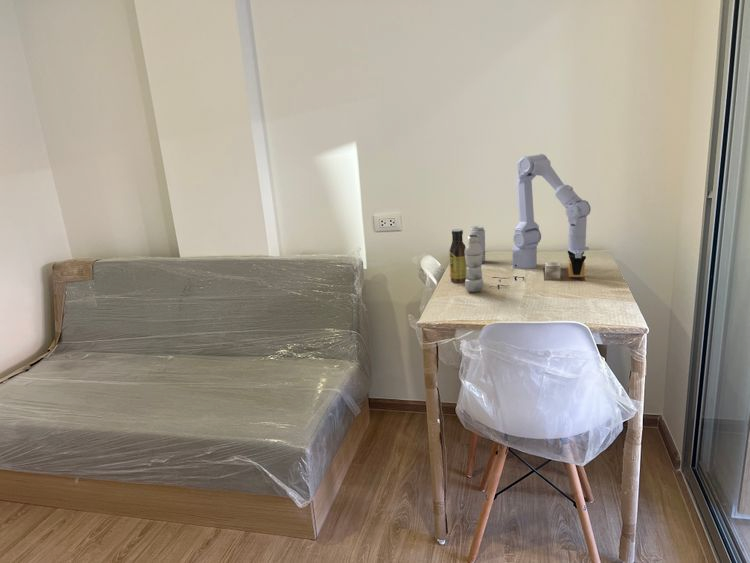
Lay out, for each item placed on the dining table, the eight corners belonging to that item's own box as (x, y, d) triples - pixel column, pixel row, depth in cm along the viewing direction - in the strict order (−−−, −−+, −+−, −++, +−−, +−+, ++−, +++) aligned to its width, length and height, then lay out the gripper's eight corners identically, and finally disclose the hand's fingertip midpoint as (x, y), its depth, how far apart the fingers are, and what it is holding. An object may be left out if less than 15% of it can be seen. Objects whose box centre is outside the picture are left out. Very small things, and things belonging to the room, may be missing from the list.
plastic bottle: (463, 293, 190) (461, 238, 184) (467, 287, 196) (465, 233, 190) (481, 294, 187) (480, 238, 182) (485, 288, 193) (484, 234, 188)
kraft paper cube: (569, 276, 193) (569, 263, 191) (568, 272, 197) (568, 259, 196) (584, 276, 191) (584, 263, 190) (582, 272, 196) (583, 259, 194)
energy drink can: (487, 262, 225) (486, 227, 221) (472, 264, 225) (472, 229, 220) (483, 259, 231) (482, 224, 226) (469, 260, 231) (468, 226, 226)
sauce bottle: (450, 278, 208) (449, 227, 202) (467, 278, 207) (465, 227, 201) (449, 283, 202) (447, 231, 196) (466, 283, 201) (465, 231, 195)
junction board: (544, 283, 194) (544, 267, 192) (543, 270, 209) (543, 255, 207) (585, 283, 190) (586, 267, 189) (581, 270, 205) (582, 255, 203)
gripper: (591, 240, 182) (589, 278, 186) (587, 230, 196) (585, 266, 200) (569, 240, 184) (568, 278, 188) (566, 231, 198) (565, 266, 201)
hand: (575, 272), depth 194 cm, fingers closed on kraft paper cube, 5 cm apart
